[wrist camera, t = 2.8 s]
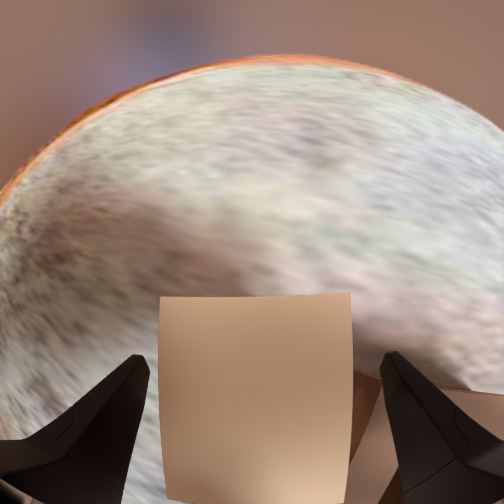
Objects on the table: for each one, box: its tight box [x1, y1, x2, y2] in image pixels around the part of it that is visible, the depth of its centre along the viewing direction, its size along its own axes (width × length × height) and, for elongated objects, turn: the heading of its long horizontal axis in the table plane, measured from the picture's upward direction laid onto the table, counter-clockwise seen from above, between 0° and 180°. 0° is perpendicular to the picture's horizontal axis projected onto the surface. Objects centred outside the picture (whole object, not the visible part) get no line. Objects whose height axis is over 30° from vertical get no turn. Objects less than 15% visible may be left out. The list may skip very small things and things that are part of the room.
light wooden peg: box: [158, 293, 353, 504], centre depth 10 cm, size 4×4×12 cm
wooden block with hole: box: [341, 371, 504, 504], centre depth 10 cm, size 13×11×6 cm
